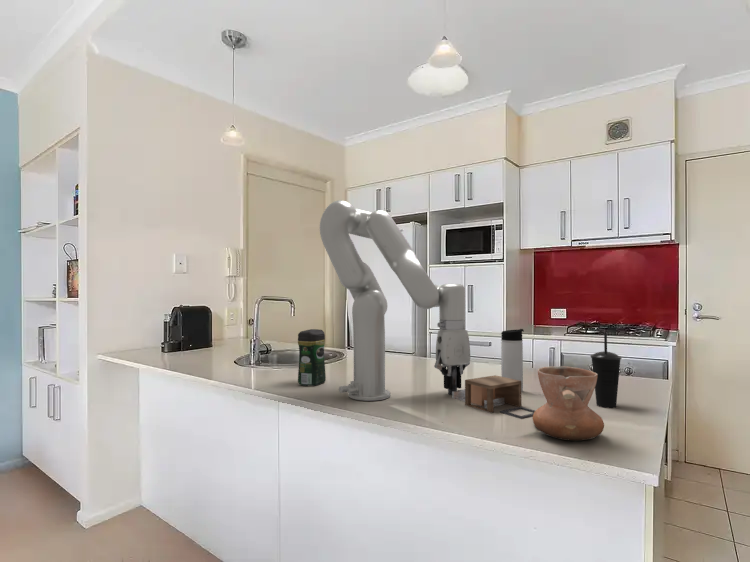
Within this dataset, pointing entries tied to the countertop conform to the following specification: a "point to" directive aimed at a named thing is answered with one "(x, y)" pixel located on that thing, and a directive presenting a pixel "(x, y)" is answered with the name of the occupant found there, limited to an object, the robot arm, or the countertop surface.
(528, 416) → the dark piece
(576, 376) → the ceramic jug
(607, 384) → the drinking cup
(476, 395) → the block
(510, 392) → the tunnel
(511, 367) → the travel mug
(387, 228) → the robot arm
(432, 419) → the countertop surface
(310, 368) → the coffee jar
